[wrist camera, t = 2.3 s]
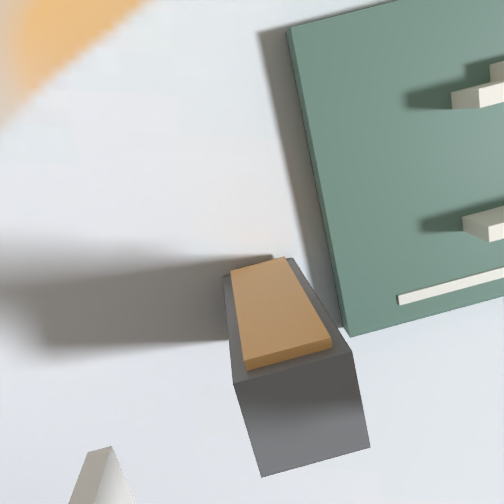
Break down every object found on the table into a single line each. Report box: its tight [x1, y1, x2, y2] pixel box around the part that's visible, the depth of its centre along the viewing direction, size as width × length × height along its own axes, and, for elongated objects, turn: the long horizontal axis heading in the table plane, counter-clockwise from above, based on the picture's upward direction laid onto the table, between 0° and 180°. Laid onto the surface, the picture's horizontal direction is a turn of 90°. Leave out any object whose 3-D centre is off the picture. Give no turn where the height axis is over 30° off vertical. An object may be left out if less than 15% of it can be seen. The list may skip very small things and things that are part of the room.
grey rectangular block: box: [223, 257, 370, 478], centre depth 19 cm, size 4×4×10 cm
